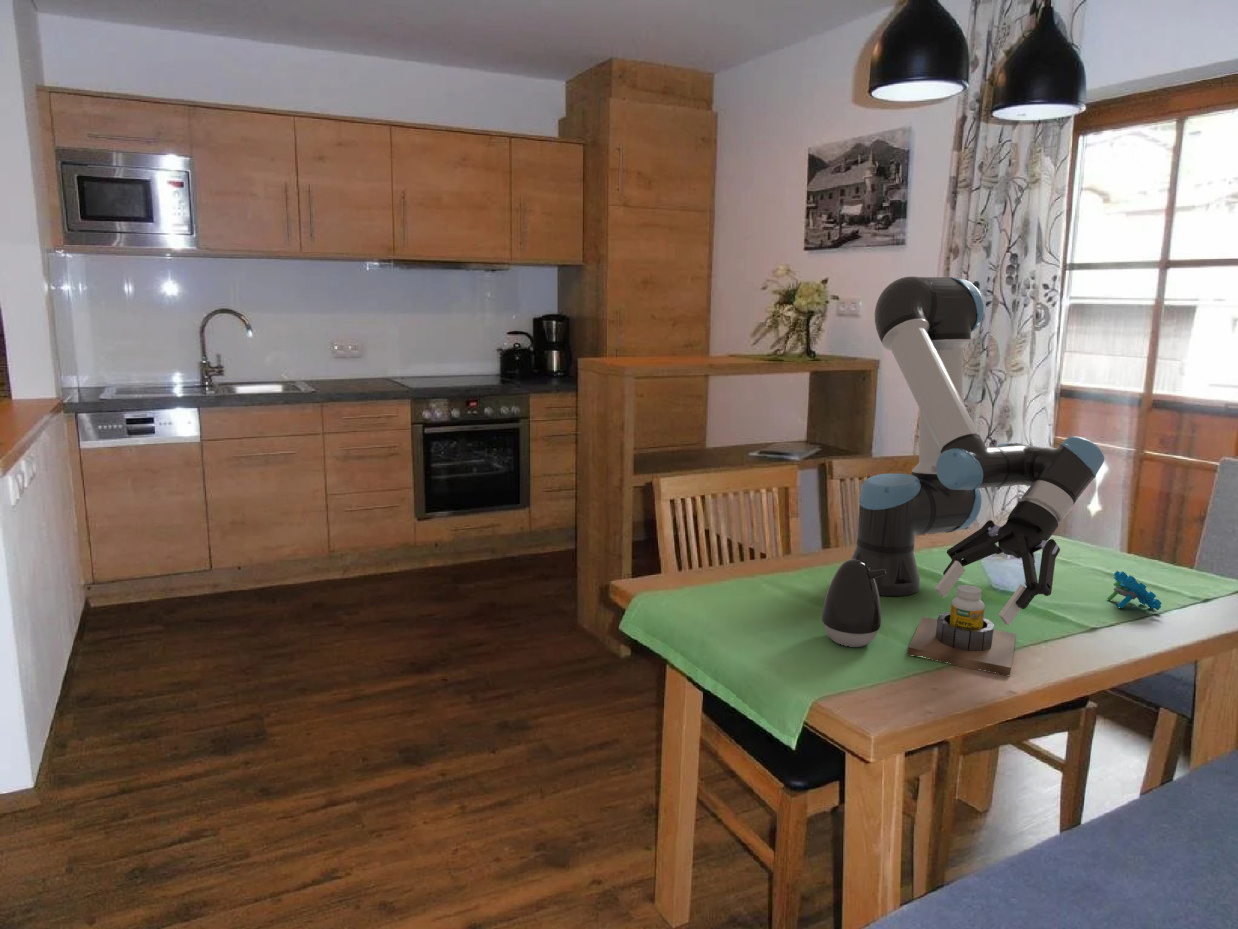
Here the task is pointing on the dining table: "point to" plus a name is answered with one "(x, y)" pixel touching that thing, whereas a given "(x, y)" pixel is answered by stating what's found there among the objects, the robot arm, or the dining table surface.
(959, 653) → the board
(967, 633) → the collar
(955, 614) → the supplement bottle
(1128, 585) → the gear
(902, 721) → the dining table surface
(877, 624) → the pump dispenser
